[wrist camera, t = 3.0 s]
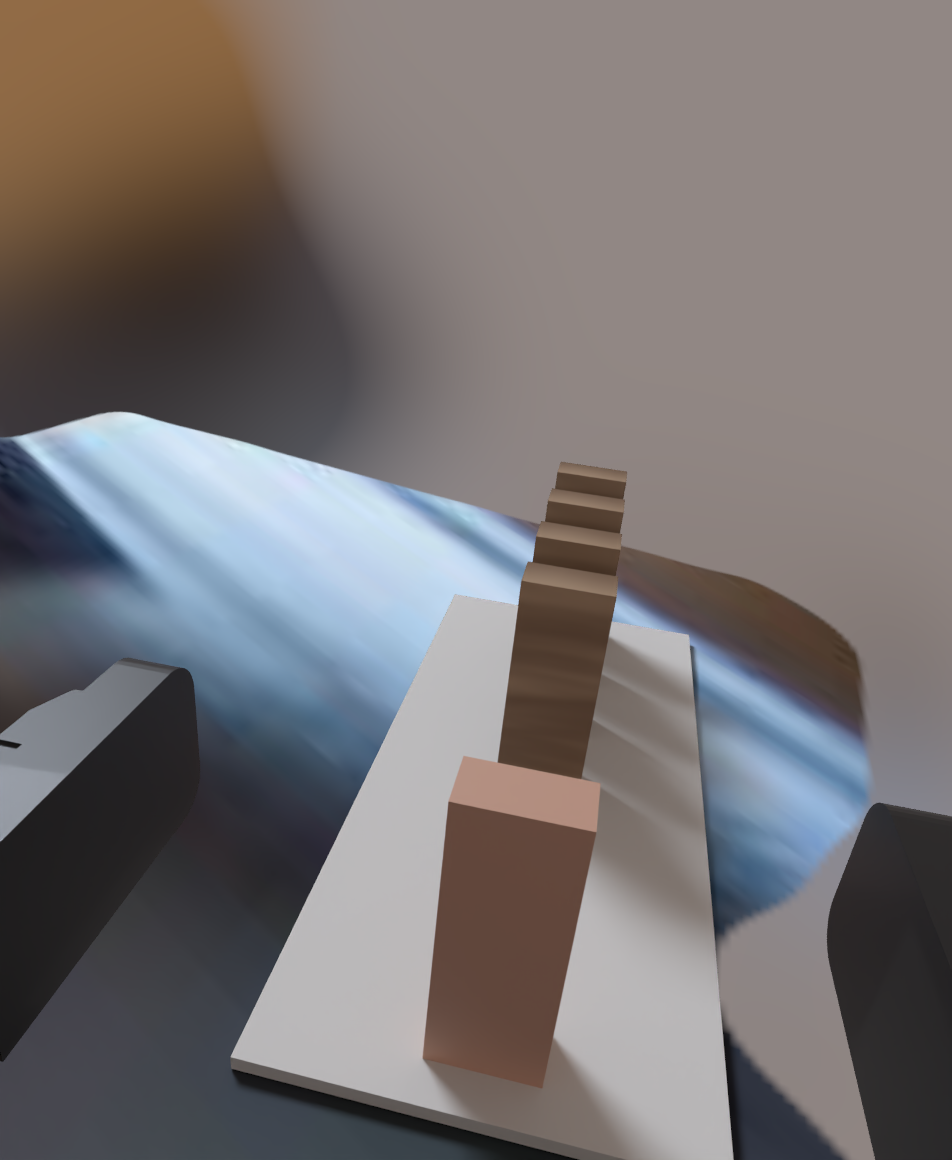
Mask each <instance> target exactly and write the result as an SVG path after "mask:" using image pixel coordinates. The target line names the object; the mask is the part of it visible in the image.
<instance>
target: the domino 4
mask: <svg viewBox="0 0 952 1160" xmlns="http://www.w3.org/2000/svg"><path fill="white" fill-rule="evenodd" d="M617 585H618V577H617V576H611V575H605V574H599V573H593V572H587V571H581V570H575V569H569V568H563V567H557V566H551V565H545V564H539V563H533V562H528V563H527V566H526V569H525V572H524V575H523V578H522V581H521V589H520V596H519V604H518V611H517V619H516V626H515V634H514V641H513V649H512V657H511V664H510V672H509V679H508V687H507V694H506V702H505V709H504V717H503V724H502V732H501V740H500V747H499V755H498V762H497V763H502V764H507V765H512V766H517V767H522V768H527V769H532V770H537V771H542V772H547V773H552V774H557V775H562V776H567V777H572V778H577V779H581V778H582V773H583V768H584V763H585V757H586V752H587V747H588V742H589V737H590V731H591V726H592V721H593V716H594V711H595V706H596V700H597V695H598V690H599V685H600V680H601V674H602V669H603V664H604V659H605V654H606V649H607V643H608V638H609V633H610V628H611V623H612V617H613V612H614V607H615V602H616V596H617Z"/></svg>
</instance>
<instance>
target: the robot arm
mask: <svg viewBox="0 0 952 1160" xmlns="http://www.w3.org/2000/svg"><path fill="white" fill-rule="evenodd" d="M199 778H200V760H199V747H198V733H197V720H196V706H195V693H194V683H193V679H192V676H191V674H190V672H189V671H188V670H186V669H185V668H180V667H174V666H169V665H164V664H159V663H153V662H148V661H143V660H138V659H132V658H123V659H121V660H119V661H118V662H116V663H115V664H114V665H113V666H111V667H110V668H109V669H108V670H107V671H106V672H104V673H103V674H102V675H101V676H100V677H99V678H98V679H96V680H95V681H94V682H93V683H92V684H91V685H90V686H88V687H87V688H86V689H85V690H84V691H79V690H72V691H70V692H68V693H65V694H63V695H61V696H59V697H57V698H55V699H53V700H50V701H48V702H46V703H44V704H42V705H40V706H38V707H36V708H33V709H31V710H29V711H28V712H27V713H26V714H24V715H23V716H22V717H21V718H20V719H18V720H17V721H16V722H15V723H13V724H12V725H11V726H10V727H9V728H7V729H6V730H5V731H4V732H3V733H1V734H0V1061H2V1062H3V1061H4V1060H5V1058H6V1057H7V1056H8V1054H9V1053H10V1052H11V1050H12V1049H13V1048H14V1046H15V1045H16V1044H17V1042H18V1041H19V1040H20V1038H21V1037H22V1036H23V1034H24V1033H25V1032H26V1030H27V1029H28V1028H29V1026H30V1025H31V1024H32V1022H33V1021H34V1020H35V1018H36V1017H37V1016H38V1014H39V1013H40V1012H41V1010H42V1009H43V1008H44V1006H45V1005H46V1004H47V1002H48V1001H49V1000H50V998H51V997H52V996H53V994H54V993H55V992H56V990H57V989H58V988H59V986H60V985H61V984H62V982H63V981H64V980H65V978H66V977H67V976H68V974H69V973H70V972H71V970H72V969H73V968H74V966H75V965H76V964H77V962H78V961H79V960H80V958H81V957H82V956H83V954H84V953H85V952H86V950H87V949H88V948H89V946H90V945H91V944H92V942H93V941H94V940H95V938H96V937H97V936H98V934H99V933H100V932H101V930H102V929H103V928H104V926H105V925H106V924H107V922H108V921H109V920H110V918H111V917H112V916H113V914H114V913H115V912H116V910H117V909H118V908H119V906H120V905H121V904H122V902H123V901H124V900H125V898H126V897H127V896H128V894H129V893H130V892H131V890H132V889H133V888H134V886H135V885H136V884H137V882H138V881H139V880H140V878H141V877H142V876H143V874H144V873H145V872H146V870H147V869H148V868H149V866H150V865H151V864H152V862H153V861H154V860H155V858H156V857H157V856H158V854H159V853H160V852H161V850H162V849H163V848H164V846H165V845H166V844H167V842H168V841H169V840H170V838H171V837H172V836H173V834H174V833H175V832H176V830H177V829H178V828H179V826H180V825H181V824H182V822H183V821H184V819H185V818H186V816H187V814H188V813H189V811H190V809H191V806H192V804H193V802H194V799H195V796H196V793H197V789H198V784H199ZM827 947H828V948H827V949H828V958H829V963H830V967H831V972H832V976H833V981H834V985H835V989H836V994H837V997H838V1002H839V1006H840V1011H841V1015H842V1019H843V1023H844V1027H845V1032H846V1036H847V1040H848V1045H849V1049H850V1053H851V1057H852V1061H853V1066H854V1071H855V1075H856V1079H857V1083H858V1088H859V1092H860V1096H861V1100H862V1105H863V1109H864V1113H865V1117H866V1122H867V1126H868V1130H869V1135H870V1139H871V1143H872V1147H873V1151H874V1156H875V1160H952V817H951V816H947V815H941V814H936V813H931V812H926V811H920V810H915V809H909V808H905V807H899V806H893V805H888V804H883V803H876V804H874V805H873V806H872V807H871V808H870V809H869V811H868V813H867V815H866V817H865V819H864V822H863V824H862V827H861V829H860V832H859V835H858V837H857V840H856V842H855V845H854V847H853V850H852V853H851V855H850V858H849V860H848V863H847V865H846V868H845V871H844V873H843V875H842V878H841V881H840V883H839V886H838V889H837V891H836V893H835V896H834V899H833V902H832V905H831V909H830V914H829V919H828V929H827Z"/></svg>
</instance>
